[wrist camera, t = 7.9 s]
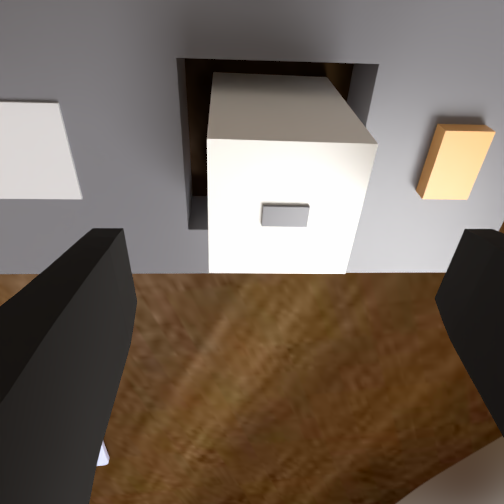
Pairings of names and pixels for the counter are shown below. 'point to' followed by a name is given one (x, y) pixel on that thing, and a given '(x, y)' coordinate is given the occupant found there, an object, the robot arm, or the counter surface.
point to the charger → (283, 174)
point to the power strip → (177, 129)
